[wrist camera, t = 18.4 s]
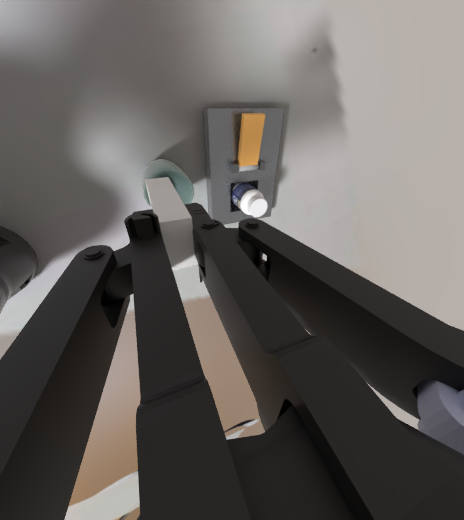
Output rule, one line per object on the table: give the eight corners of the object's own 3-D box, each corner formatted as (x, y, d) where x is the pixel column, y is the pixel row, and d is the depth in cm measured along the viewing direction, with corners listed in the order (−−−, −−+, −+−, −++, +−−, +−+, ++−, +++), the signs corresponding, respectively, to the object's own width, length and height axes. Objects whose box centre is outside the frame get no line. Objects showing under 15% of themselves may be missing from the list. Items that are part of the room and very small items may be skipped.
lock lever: (235, 169, 45) (238, 172, 44) (240, 113, 38) (243, 115, 37) (255, 168, 46) (258, 170, 45) (263, 112, 39) (266, 114, 38)
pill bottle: (223, 191, 49) (241, 208, 42) (241, 174, 49) (262, 189, 42) (237, 207, 53) (255, 225, 46) (253, 191, 52) (275, 207, 45)
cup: (189, 171, 44) (203, 187, 37) (168, 203, 46) (177, 224, 39) (153, 145, 39) (161, 157, 32) (132, 181, 41) (134, 200, 34)
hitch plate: (208, 220, 52) (215, 229, 49) (202, 108, 39) (211, 109, 35) (264, 211, 57) (274, 219, 53) (276, 108, 44) (289, 109, 40)
